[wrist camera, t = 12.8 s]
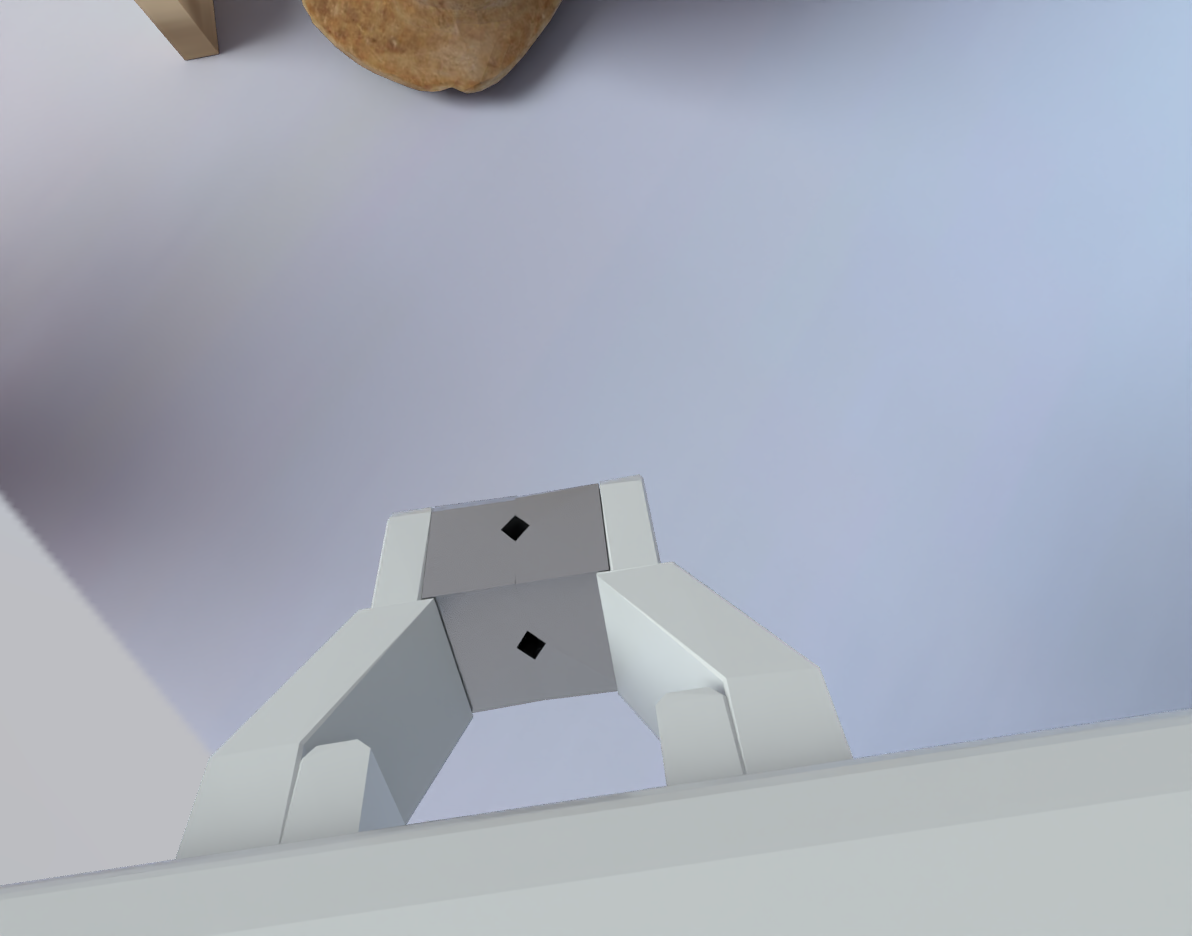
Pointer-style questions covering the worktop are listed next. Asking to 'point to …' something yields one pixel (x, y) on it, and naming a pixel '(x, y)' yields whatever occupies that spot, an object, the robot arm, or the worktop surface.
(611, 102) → the worktop surface
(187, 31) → the wooden open tray
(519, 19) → the brown boot
